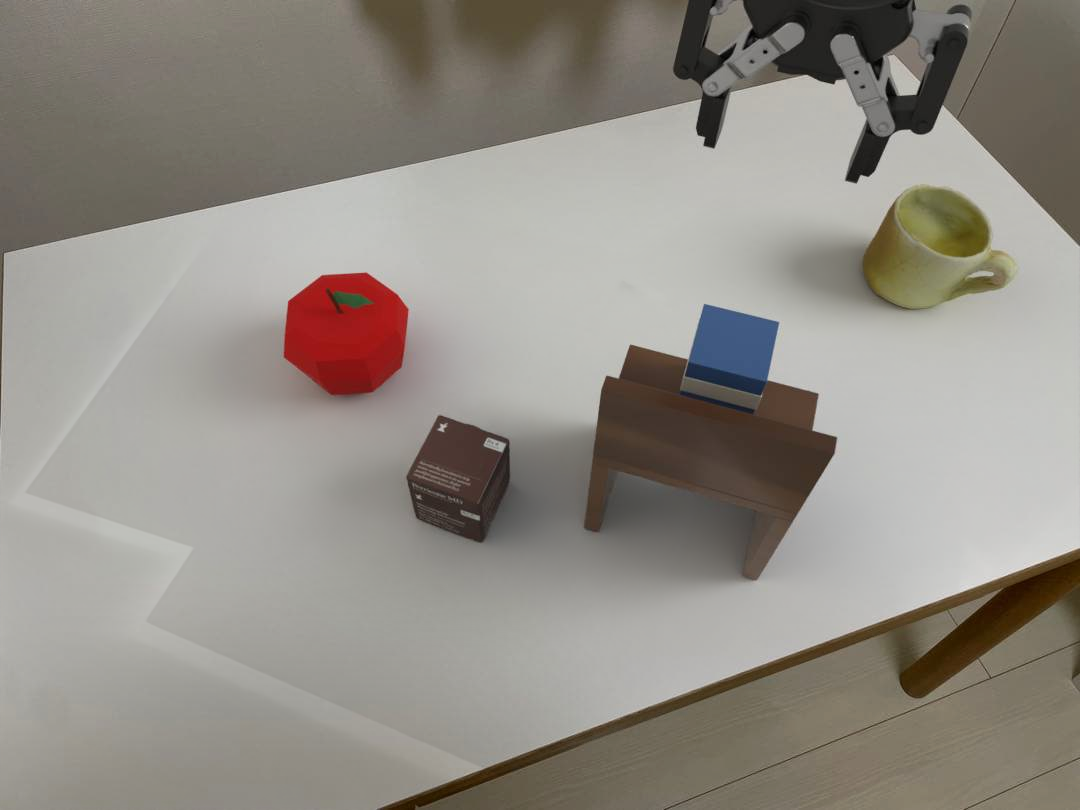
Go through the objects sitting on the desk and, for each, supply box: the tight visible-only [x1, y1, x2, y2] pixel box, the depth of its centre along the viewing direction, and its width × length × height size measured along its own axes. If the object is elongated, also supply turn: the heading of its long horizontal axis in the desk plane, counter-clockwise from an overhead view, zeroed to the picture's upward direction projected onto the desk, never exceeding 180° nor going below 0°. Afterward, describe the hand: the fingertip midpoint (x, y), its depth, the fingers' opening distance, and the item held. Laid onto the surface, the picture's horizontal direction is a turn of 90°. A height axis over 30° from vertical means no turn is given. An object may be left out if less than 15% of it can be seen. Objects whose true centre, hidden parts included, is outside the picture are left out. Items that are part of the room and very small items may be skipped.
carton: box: [679, 303, 780, 414], centre depth 57 cm, size 5×5×7 cm
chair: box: [583, 344, 838, 581], centre depth 61 cm, size 10×14×20 cm
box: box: [405, 414, 511, 544], centre depth 66 cm, size 6×6×7 cm
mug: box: [861, 184, 1019, 310], centre depth 79 cm, size 12×10×10 cm
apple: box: [283, 271, 409, 396], centre depth 72 cm, size 11×11×10 cm
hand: (780, 156), depth 51 cm, fingers open, 8 cm apart
